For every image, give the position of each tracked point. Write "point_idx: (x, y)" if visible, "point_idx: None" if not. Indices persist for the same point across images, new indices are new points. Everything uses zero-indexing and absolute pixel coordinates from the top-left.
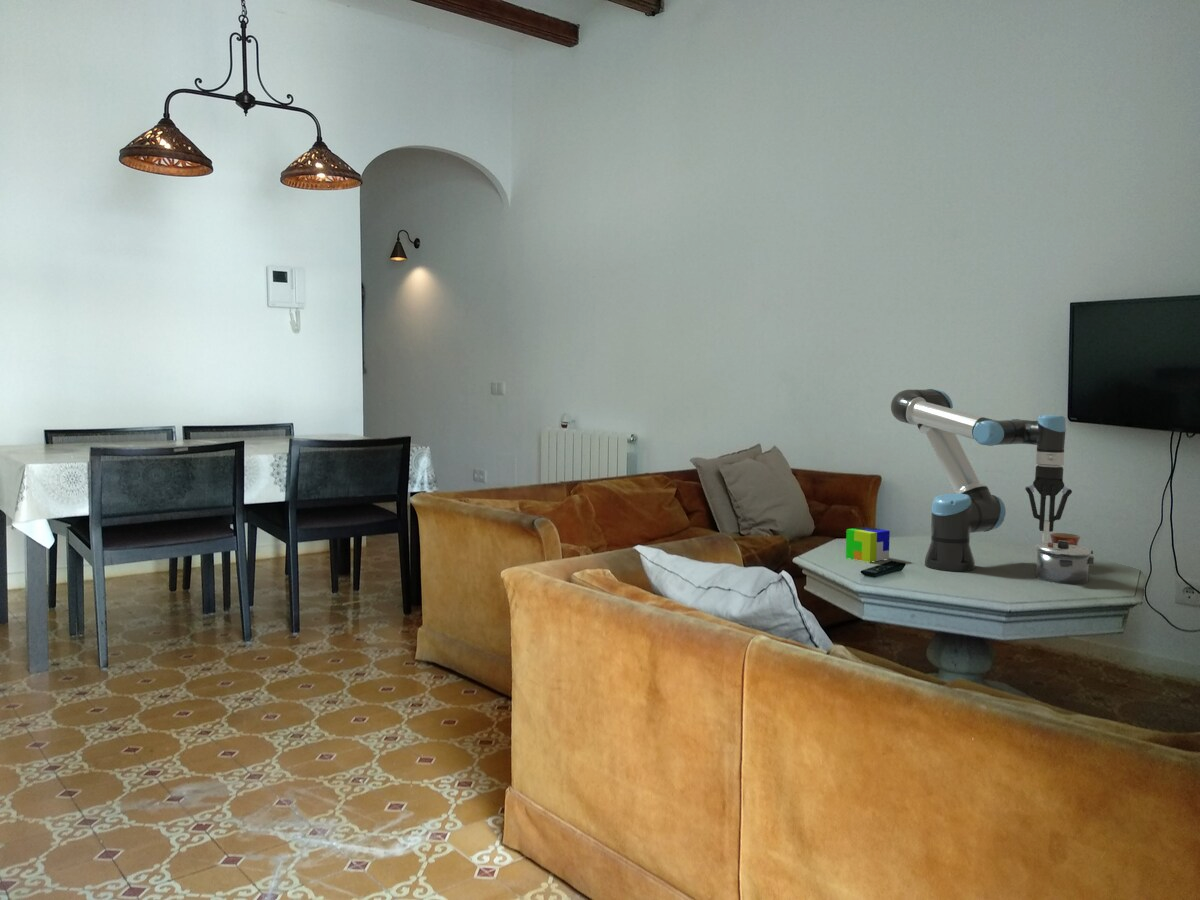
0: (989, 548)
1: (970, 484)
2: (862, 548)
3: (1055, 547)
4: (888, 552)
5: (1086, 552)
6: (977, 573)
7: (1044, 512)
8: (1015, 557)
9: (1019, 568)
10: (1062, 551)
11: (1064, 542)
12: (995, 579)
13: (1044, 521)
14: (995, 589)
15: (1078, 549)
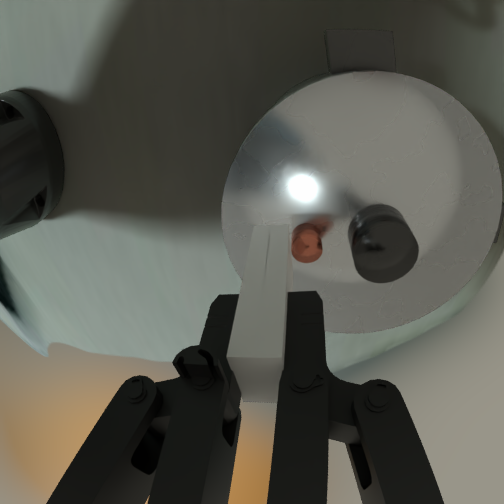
0: None
1: None
2: None
3: (333, 247)
4: None
5: (453, 295)
6: (89, 207)
7: (228, 475)
8: None
9: (178, 32)
10: (351, 327)
11: (384, 281)
12: (152, 262)
13: (245, 401)
14: (185, 348)
15: (444, 246)
